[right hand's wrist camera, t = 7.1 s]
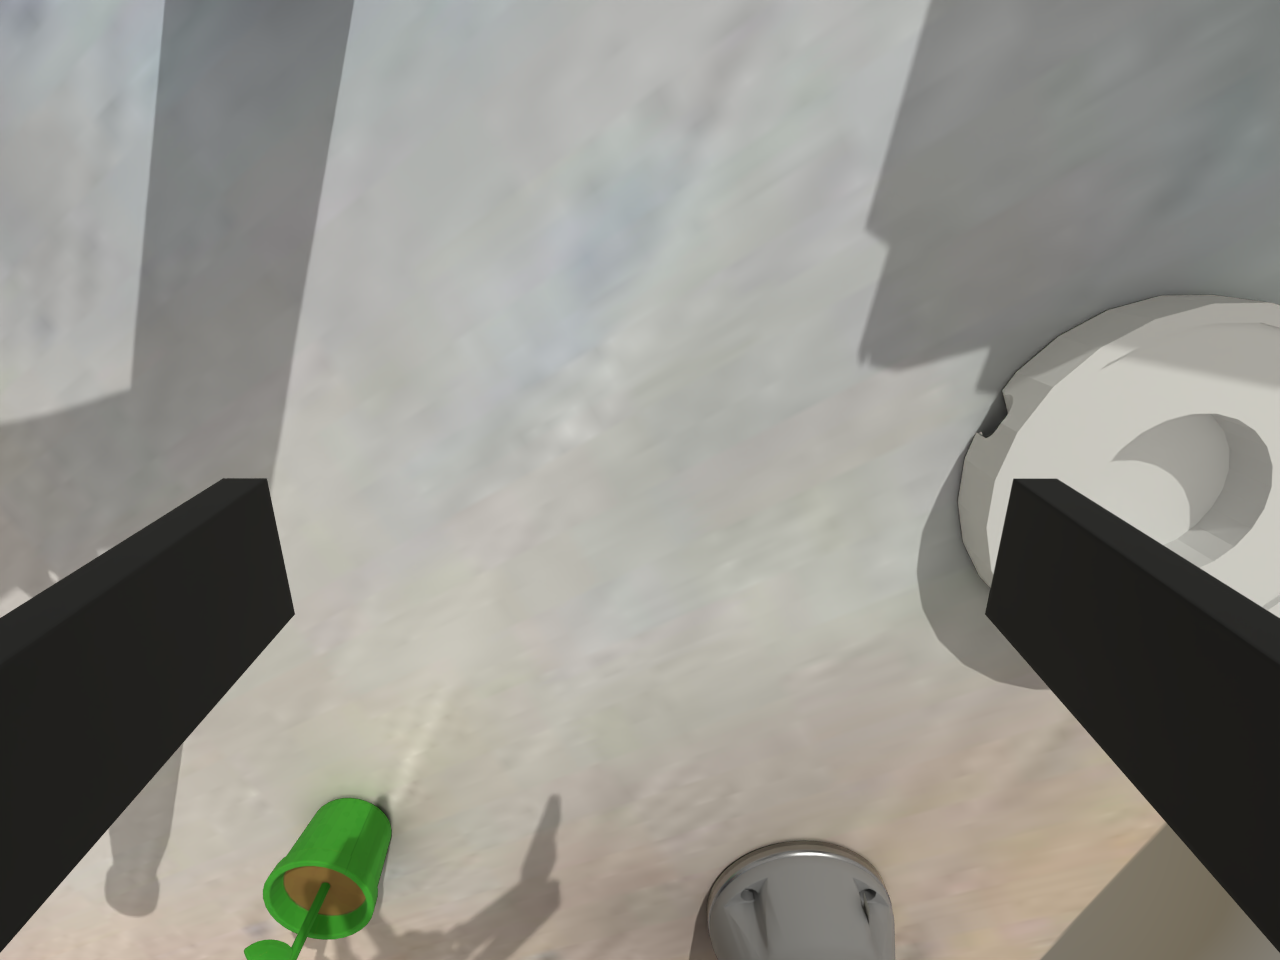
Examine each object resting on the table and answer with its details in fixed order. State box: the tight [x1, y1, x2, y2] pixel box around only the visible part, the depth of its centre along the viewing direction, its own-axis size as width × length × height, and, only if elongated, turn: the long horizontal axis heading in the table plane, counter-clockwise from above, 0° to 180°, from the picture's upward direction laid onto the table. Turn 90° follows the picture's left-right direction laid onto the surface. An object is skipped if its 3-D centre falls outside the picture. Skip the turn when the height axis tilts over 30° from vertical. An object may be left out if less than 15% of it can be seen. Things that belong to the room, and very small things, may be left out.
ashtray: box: [958, 295, 1280, 618], centre depth 43 cm, size 23×23×4 cm
